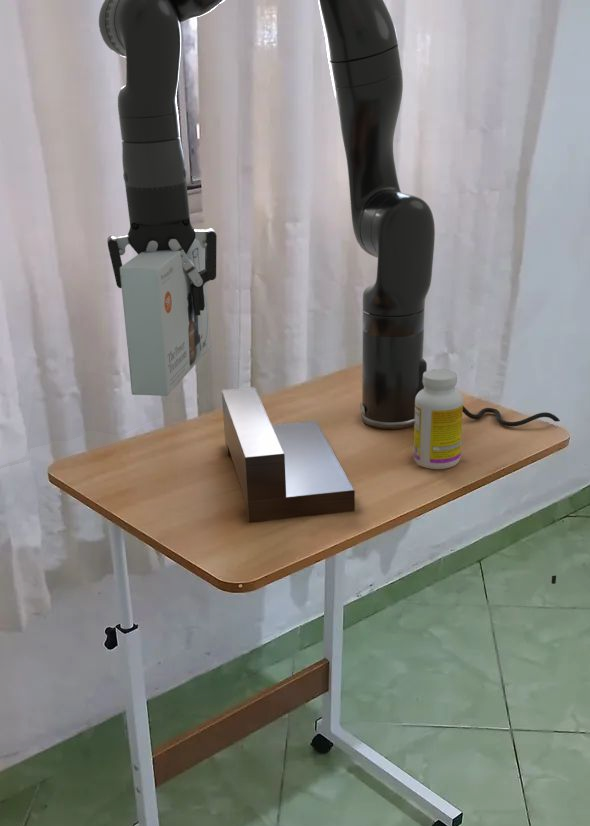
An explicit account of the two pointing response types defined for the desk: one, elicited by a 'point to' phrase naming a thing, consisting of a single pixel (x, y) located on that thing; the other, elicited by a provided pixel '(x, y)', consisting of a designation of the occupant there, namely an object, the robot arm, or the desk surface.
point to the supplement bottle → (438, 421)
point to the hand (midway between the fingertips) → (170, 316)
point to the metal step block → (282, 462)
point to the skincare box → (162, 319)
